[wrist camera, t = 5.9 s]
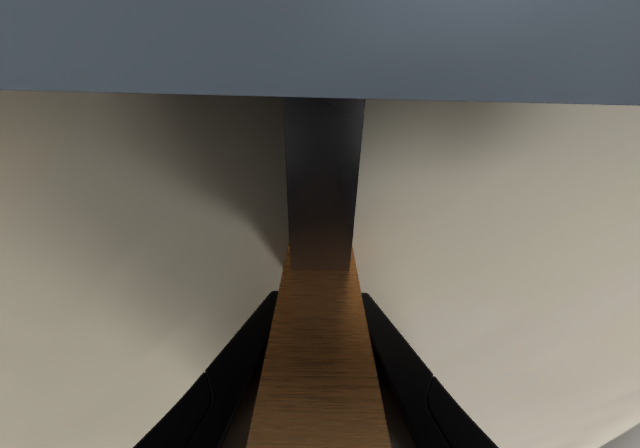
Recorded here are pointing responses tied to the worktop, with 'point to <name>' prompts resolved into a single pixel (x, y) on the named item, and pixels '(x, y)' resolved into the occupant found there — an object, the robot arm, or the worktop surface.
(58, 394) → the worktop surface
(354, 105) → the hook tool
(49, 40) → the bench
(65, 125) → the worktop surface
